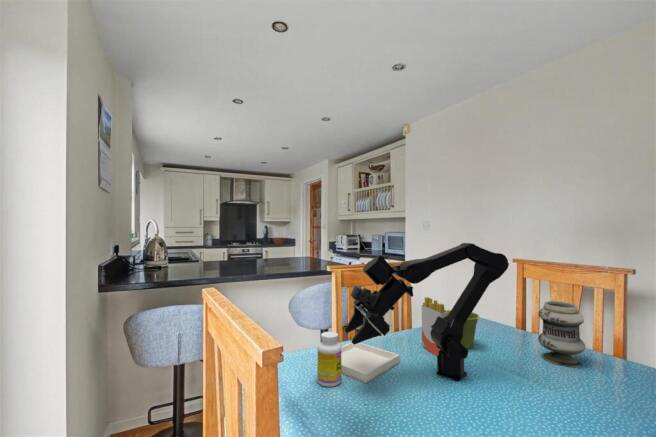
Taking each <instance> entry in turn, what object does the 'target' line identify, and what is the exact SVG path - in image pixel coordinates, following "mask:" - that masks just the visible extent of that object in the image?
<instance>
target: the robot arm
mask: <svg viewBox="0 0 656 437" xmlns="http://www.w3.org/2000/svg"><path fill="white" fill-rule="evenodd" d="M467 259H469V261H471V262H473V263H474V265H473V274H472V277H471V279H470V280H469V282H468V283H467V285H466V286H465V288H464V289H463V291H462V292H461V294H460V296H459V297H458V299H457V301H456V302H455V303H454V305H453V306H452V308H451V311H450V313H449V314H448V315H447V316H446V317H444V318H441V317H440V316H438V317H437V319H436V321H435V323H434V324H433V325H432V326H431V328H432V330H431V332H430V334H431V339H432V340H433V341H434V342H435V343H436V346H437V348H439V349H440V351H439V355H438V356H436V366H437V367H436V369H437V371H436V374H435V375H437V376H439V377H440V376H441V377H443V378H447V379H449V380H452V381H455V382H461V381H462V379H463V378H465V376H466V375H467V371H465V359H467V358H468V356H469V352H470V351H469V350H468V349H466V348H465V347H464V346H463V345H462V344H461V343H460V342H461V340H462V338H463V329H464V324H465V323H466V321H467V319H468V318H469V316H470V315H471V313H472V312H473V311H474V310H475V308H476V307H477V305H478V304H479V302H480V300H481V299H482V297H483V295H484V294H485V292H486V290H487V289H488V288H489V286H490V284H492V283H493V282H495V281H496V280H498V279H500V278H501V277H502V276H503V274H505V273H506V272H507V270H508V268H509V265H510V263H509V259H508V258H507V256H506V255H505V254H503V253H501V252H494V251H493V252H492V251H491V250H487V249H484V248H482V247H480V246H478V245H476V244H474V243H471V242H463V243H462V242H461V243H460V244H459V245H457V246H454V247H451V248H449V249H446V250H443V251H441V252H439V253H436V254H433V255H431V256H428V257H423V258H416V259H410V260H405V261H402V262H401V263H400V264H398V265H392V266H391V264H390V263H388V262H387V261H386V258H385V257H384V256H383V255H381V254H378V255H377V256H376V257H374V258H372V259H371V260H369V261H368V262H367V263H366V264H365V265H364V266H363V269H362V272H363V273H364V274H365V275H366V276H367V277H368V278H369V280H371V281H372V282H373V283H374V284H375V285H376V286H379V285H381V286H382V287H381V288H379V290H373V291H372V290H371V289H368V288H366V287H364V288H361V287H360V286H357V285H354V286H353V288H352V291H351V294H350V295H349V296H350V297H351V298H352V299H353V300H354V302H353V305H352V307H353V314H352V316H351V318H350V320H349V322H348V323H347V326H346V327H345V329H344V331H345V332H346V333H347V334H349V333H350V332H353V331H354V330H356V329H357V328H359V327H360V329H359V330H358V331H357V332H356V334H355V335H354V337H353V339H351V341H350V342H352V343H353V344H354V345H355V344H357V343H363V342H364V341H367V340H368V341H369V340H370V339H373V338H377V337H382V335H383V336H385V337H386V335H387V334H389V332H390V330H391V329H390V324H389V323H388V322H387V321H386V319H385V315H387V313H388V312H389V311H390V310H391V311H394V310H395V305H396V304H397V303H398V302H399V301H400V299H401V298H402V297H403V296H404V295H405V294H406V295H408V296H409V297H414V292H413V291H414V287H413V286H412V285H407V283H406V282H408V283H411V284H414V285H416V284H419V283H421V282H423V281H424V280H426V279H427V278H428V277H430V276H431V275H432V274H433V273H435V272H436V271H438V270H441V269H443V268H446V267H448V266H451V265H455V264H457V263H459V262H462V261H464V260H467ZM395 276H396V277H395ZM397 277H399V279H397ZM404 281H406V282H404Z"/></svg>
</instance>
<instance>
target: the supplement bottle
mask: <svg viewBox="0 0 656 437" xmlns="http://www.w3.org/2000/svg"><path fill="white" fill-rule="evenodd" d="M338 339H339V333H337V332H335V331H324V332H322V333H321V335H320V340H321V342H319V344H318V345H317V370H316V371H317V372H316V374H317V378H316V379H317V383H318V384H319V385H321V386H323V387H329V388H330V387H337V386H338V385H340V383H341V382H342V373H341V372H342V371H341V369H342V365H341V364H342V362H341V360H342V348H341V346H342V345H341V343H339V342H338Z"/></svg>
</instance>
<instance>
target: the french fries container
mask: <svg viewBox="0 0 656 437" xmlns="http://www.w3.org/2000/svg"><path fill="white" fill-rule="evenodd" d="M446 311H447V312H446ZM449 313H450V310H449V309H447V310H446V309H445V304H443V303H438V300H435V299H434V300H433V298H431V297H427V296H424V302H422V304H421V341H422V343H423V345H424V348H425V350H426V351H427V352H429V353H430V354H432V355H434V356H435V357H437V356H438V355H439V351H440V349H439V348H437V346H436V343H435V342H434V341H433V340H432V339H431V334H430V332H431V330H432V328H431V326H432V325H433V324H434V323H435V321H436V319H437V317H438V316H440V317H441V318H444V317H446V316H447V315H448V314H449Z"/></svg>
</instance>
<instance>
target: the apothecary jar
mask: <svg viewBox="0 0 656 437" xmlns="http://www.w3.org/2000/svg"><path fill="white" fill-rule="evenodd" d="M543 304H544V305H543V307H542V308H540V309H539V311H538V312H537V313H538V316H539V318H540V320H542V332H541V333H540V334H539V335H538V338H537V340H538V342H539V344H540V345H541V347H543V348H545V349H546V350H549V351H550V352H545V353H543V354H542V358H543V359H544V360H546V361H547V362H549V363H552V364H555V365H558V366H566V367H568V368H569V367H570V368H576V367H577V366H578V367H580V366H581V365H582V363H581V361H580V360H578V358H576V357H573V356H574V355H579V354H582V353H583V352H584V351H585V349H586V344H585V342H584V341H583V340H582V339H581V337H580V336H581V334H580V325H582V324H584V321H585V318H584V316H583V315H582V313H580V312H579V311H578V307H577V305H576V304H574V303H571V302H567V301H558V300H549V301H545V302H544V303H543Z"/></svg>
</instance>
